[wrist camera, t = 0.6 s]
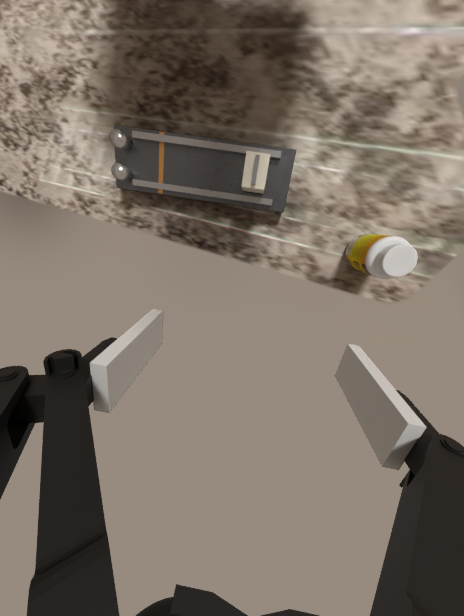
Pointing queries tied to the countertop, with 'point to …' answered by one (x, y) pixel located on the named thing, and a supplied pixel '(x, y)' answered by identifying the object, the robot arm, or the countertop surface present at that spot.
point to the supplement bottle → (381, 255)
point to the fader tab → (255, 172)
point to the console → (197, 168)
